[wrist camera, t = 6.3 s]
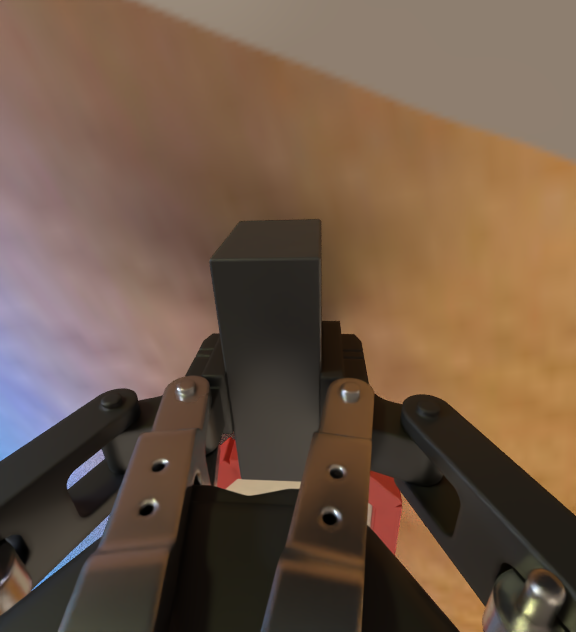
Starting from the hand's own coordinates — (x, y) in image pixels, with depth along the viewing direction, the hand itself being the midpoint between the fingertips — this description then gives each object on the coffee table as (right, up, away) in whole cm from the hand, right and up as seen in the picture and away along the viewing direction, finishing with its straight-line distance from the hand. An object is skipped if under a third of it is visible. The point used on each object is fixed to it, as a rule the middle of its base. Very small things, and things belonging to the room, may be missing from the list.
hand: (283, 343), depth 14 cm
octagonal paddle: (0, -5, +4) cm, 7 cm away
